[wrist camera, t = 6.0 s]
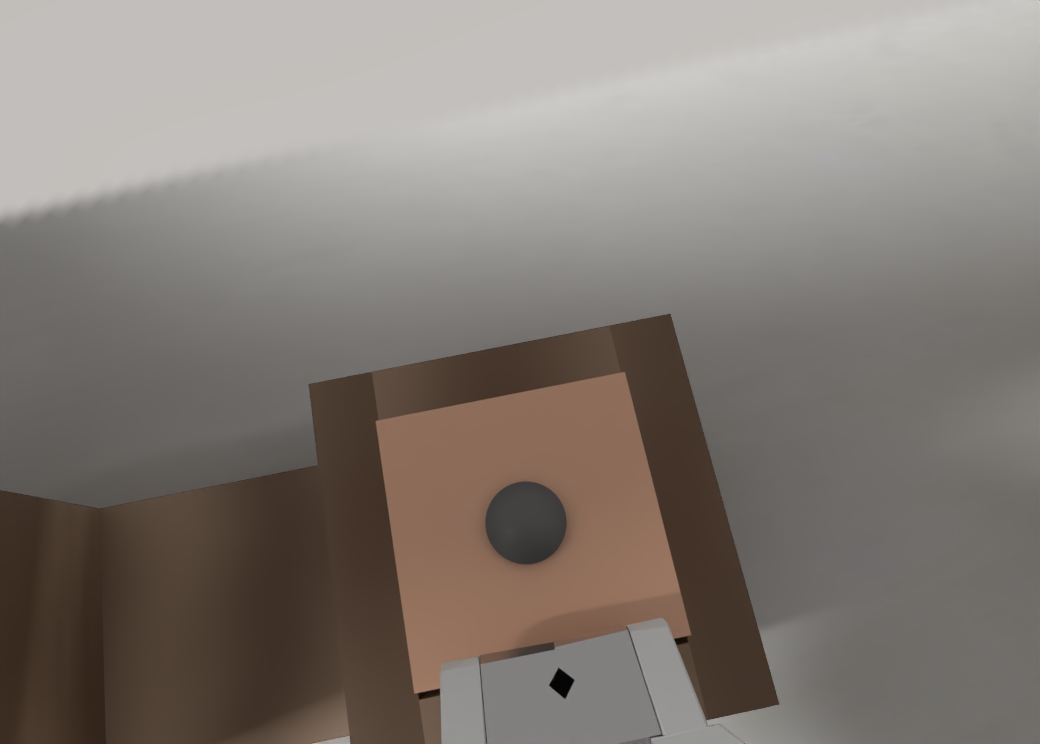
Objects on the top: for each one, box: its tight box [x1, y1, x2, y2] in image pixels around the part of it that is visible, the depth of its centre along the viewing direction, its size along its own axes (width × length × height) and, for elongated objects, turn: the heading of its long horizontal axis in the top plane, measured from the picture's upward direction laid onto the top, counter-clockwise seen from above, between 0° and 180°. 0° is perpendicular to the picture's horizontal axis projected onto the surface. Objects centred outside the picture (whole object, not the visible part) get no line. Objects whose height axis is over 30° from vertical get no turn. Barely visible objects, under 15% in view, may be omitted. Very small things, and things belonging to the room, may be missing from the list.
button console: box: [0, 314, 779, 744], centre depth 16 cm, size 22×7×8 cm, turn 101°
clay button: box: [376, 372, 691, 694], centre depth 12 cm, size 4×4×3 cm
